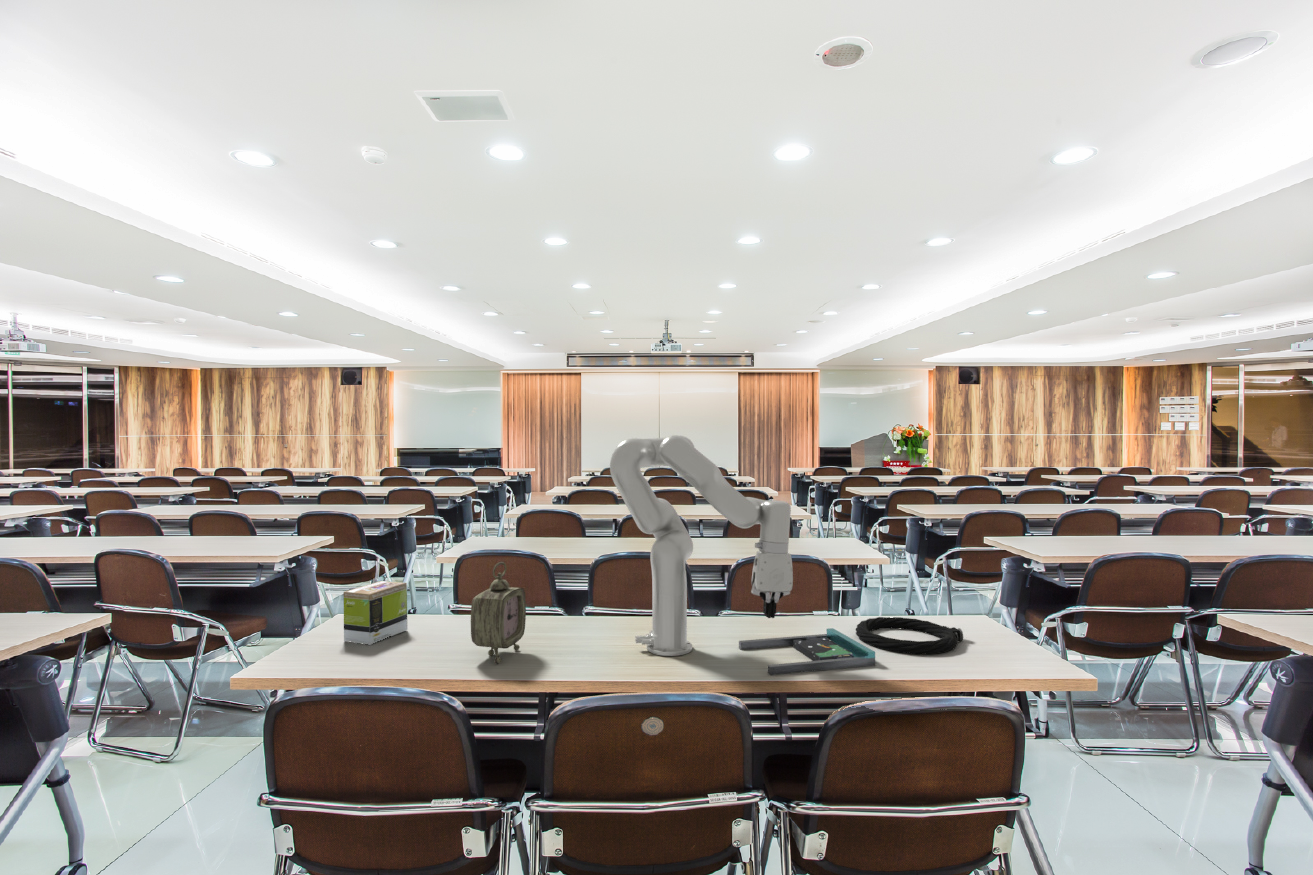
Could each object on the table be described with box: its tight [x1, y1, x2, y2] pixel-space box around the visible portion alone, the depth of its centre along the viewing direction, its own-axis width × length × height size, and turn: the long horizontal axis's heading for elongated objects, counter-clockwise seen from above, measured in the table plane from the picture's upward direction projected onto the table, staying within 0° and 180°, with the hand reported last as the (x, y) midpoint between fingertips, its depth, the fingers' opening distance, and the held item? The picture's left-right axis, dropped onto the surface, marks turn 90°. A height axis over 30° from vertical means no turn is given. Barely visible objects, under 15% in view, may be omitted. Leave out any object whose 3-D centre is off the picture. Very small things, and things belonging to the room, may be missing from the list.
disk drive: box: [792, 637, 854, 661], centre depth 166 cm, size 10×3×15 cm
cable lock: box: [855, 616, 964, 656], centre depth 179 cm, size 28×4×30 cm
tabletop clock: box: [470, 561, 527, 665], centre depth 164 cm, size 14×9×25 cm, turn 166°
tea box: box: [343, 580, 408, 646], centre depth 181 cm, size 15×10×15 cm
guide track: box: [738, 627, 876, 676], centre depth 165 cm, size 29×21×4 cm
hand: (769, 616), depth 163 cm, fingers closed
